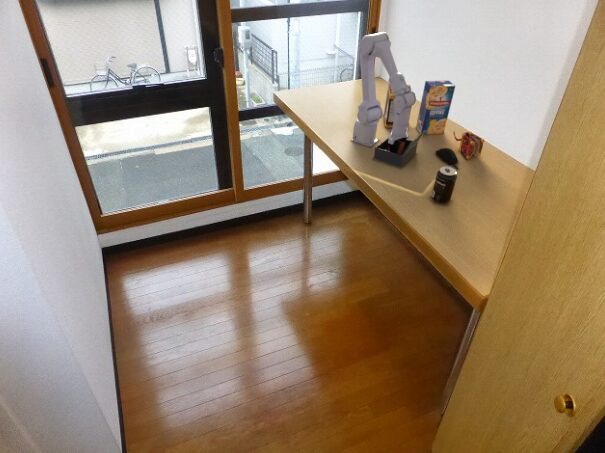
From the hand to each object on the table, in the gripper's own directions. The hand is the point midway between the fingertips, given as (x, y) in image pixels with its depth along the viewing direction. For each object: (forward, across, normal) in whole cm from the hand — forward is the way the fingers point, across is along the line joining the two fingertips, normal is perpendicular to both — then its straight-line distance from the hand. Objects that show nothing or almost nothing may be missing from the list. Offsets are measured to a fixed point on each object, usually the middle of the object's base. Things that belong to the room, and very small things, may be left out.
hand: (395, 153), depth 176 cm
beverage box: (+2, +33, -2) cm, 33 cm away
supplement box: (+2, +32, +15) cm, 35 cm away
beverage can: (+2, -19, -27) cm, 33 cm away
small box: (+1, 0, 0) cm, 1 cm away
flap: (-7, 0, -7) cm, 10 cm away
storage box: (+2, 0, 0) cm, 2 cm away
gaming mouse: (+2, +11, -19) cm, 22 cm away
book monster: (+2, +20, -22) cm, 30 cm away
